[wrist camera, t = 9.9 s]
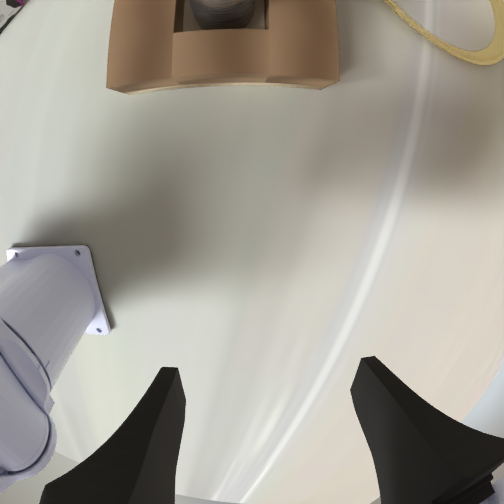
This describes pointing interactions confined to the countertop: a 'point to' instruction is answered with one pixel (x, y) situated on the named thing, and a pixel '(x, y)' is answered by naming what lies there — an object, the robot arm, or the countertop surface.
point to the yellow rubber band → (492, 54)
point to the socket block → (222, 47)
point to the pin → (222, 13)
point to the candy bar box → (8, 11)
